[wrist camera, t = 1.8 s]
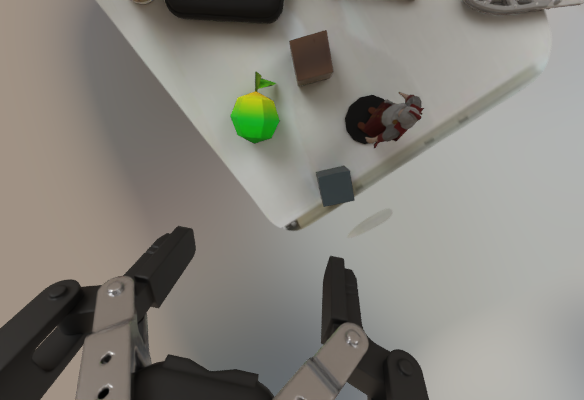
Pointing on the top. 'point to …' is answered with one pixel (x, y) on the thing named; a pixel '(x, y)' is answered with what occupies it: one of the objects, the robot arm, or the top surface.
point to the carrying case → (227, 10)
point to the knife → (518, 5)
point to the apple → (255, 114)
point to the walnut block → (311, 58)
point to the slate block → (335, 186)
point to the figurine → (381, 118)
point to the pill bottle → (142, 1)
